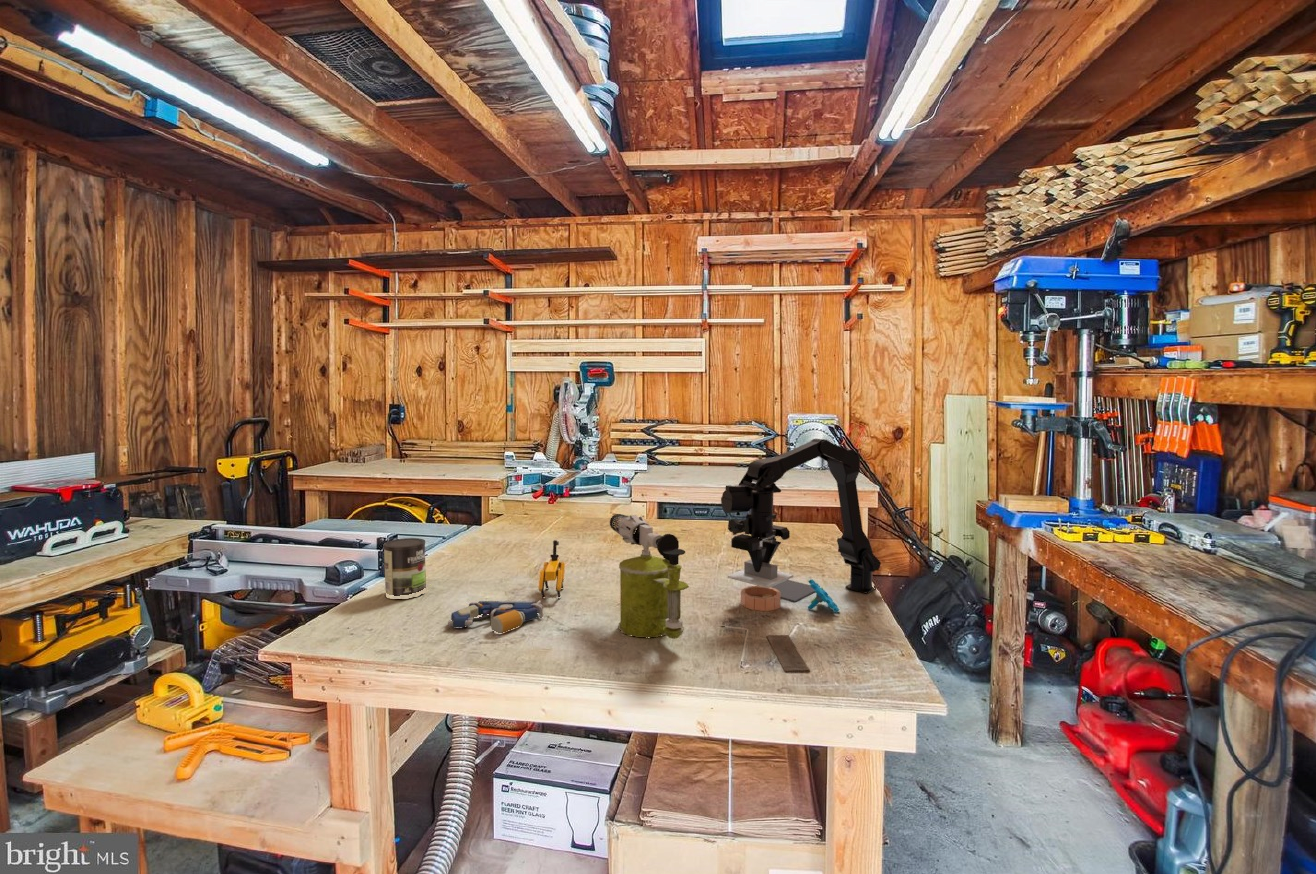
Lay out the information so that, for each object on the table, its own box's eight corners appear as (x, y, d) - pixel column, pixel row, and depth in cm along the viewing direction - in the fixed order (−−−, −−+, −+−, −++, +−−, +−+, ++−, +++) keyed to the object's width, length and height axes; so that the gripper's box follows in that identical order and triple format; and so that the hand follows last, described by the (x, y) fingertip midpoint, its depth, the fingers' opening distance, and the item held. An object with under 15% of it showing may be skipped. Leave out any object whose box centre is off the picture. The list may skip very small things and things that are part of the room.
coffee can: (434, 589, 160) (433, 539, 159) (407, 602, 150) (406, 548, 149) (404, 585, 163) (403, 536, 162) (376, 597, 153) (374, 545, 152)
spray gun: (531, 637, 129) (548, 613, 144) (530, 618, 128) (547, 596, 143) (439, 637, 130) (466, 613, 145) (439, 618, 130) (465, 597, 145)
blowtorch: (653, 661, 117) (653, 539, 115) (594, 608, 146) (593, 510, 144) (708, 648, 123) (709, 532, 121) (640, 600, 152) (640, 505, 150)
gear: (842, 613, 139) (812, 580, 141) (824, 629, 140) (794, 596, 142) (840, 603, 149) (812, 573, 152) (823, 618, 150) (795, 588, 152)
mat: (776, 578, 170) (776, 577, 170) (820, 589, 161) (820, 587, 161) (749, 589, 160) (749, 588, 160) (795, 602, 151) (795, 600, 151)
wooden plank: (766, 633, 129) (788, 632, 129) (766, 639, 129) (788, 637, 129) (785, 670, 112) (811, 668, 112) (785, 677, 112) (811, 675, 113)
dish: (755, 594, 157) (755, 583, 156) (787, 603, 150) (788, 591, 150) (733, 603, 149) (733, 592, 149) (766, 613, 142) (766, 601, 142)
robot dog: (567, 581, 167) (567, 535, 166) (560, 603, 149) (560, 552, 148) (547, 581, 167) (547, 536, 166) (538, 604, 149) (537, 553, 148)
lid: (753, 567, 157) (754, 554, 157) (793, 577, 149) (793, 563, 149) (727, 577, 149) (727, 564, 148) (768, 588, 141) (768, 573, 140)
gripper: (755, 501, 160) (754, 557, 161) (714, 511, 146) (713, 572, 147) (791, 506, 153) (790, 565, 154) (751, 517, 139) (750, 581, 140)
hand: (760, 570), depth 149 cm, fingers closed on lid, 3 cm apart
